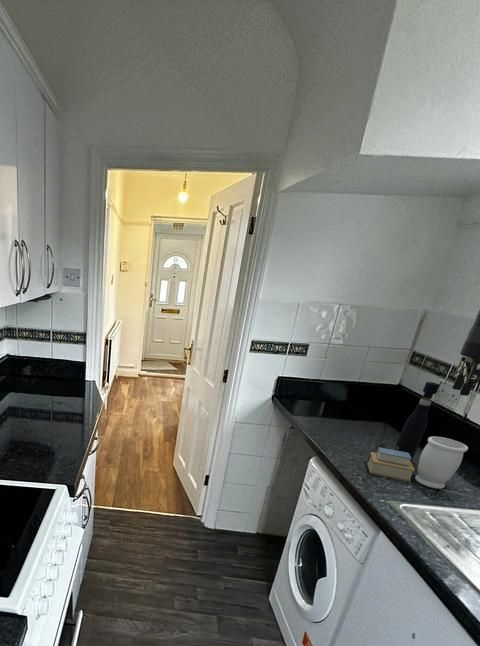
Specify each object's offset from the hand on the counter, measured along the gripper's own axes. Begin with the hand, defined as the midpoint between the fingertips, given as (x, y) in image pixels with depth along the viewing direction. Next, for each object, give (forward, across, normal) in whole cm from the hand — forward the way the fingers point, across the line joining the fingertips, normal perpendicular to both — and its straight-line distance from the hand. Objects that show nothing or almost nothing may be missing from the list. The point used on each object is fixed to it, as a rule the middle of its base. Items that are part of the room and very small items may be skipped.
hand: (459, 392), depth 134 cm
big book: (+30, -5, +12) cm, 33 cm away
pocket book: (+26, -5, +12) cm, 29 cm away
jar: (+30, -7, 0) cm, 31 cm away
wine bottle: (+30, +10, +6) cm, 32 cm away
